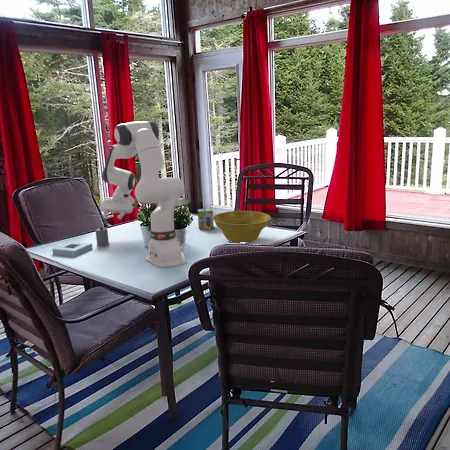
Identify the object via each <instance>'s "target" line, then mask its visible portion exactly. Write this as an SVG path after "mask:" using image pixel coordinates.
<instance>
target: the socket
mask: <svg viewBox="0 0 450 450" xmlns="http://www.w3.org/2000/svg"><path fill="white" fill-rule="evenodd" d="M93 249H94V248H93V243H91V242H83V241H82V242H80V241H69V242H66V243H64V244H60V245H58V246H56V247H53V248H52V255H56V256H63V257H64V256H65V257H73V258H74V257H75V258H76V257H78V256H80V255H82V254H84V253H87V252H88V251H90V250H93Z"/></svg>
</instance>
